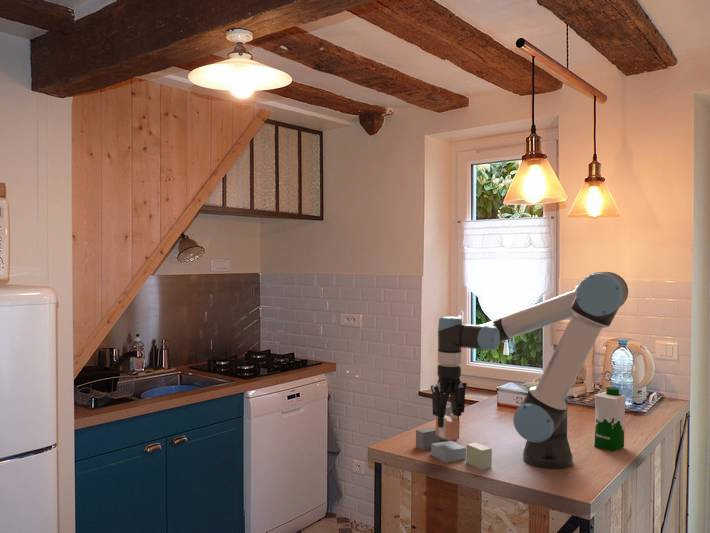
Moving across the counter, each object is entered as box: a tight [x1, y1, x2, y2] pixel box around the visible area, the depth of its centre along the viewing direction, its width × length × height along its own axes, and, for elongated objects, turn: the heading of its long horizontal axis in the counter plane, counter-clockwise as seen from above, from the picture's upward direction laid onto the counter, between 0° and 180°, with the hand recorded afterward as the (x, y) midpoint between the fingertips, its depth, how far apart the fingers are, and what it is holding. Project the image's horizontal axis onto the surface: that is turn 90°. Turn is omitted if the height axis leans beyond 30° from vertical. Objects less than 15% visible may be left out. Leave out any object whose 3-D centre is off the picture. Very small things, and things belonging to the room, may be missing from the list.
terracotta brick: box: [435, 415, 461, 441], centre depth 196 cm, size 7×4×6 cm, turn 32°
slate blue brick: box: [430, 440, 467, 463], centre depth 196 cm, size 8×8×4 cm
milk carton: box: [593, 386, 627, 453], centre depth 206 cm, size 9×9×20 cm
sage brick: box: [465, 441, 493, 470], centre depth 188 cm, size 7×4×6 cm, turn 31°
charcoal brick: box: [415, 426, 440, 451], centre depth 205 cm, size 7×4×6 cm, turn 121°
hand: (448, 435), depth 196 cm, fingers closed on terracotta brick, 4 cm apart
